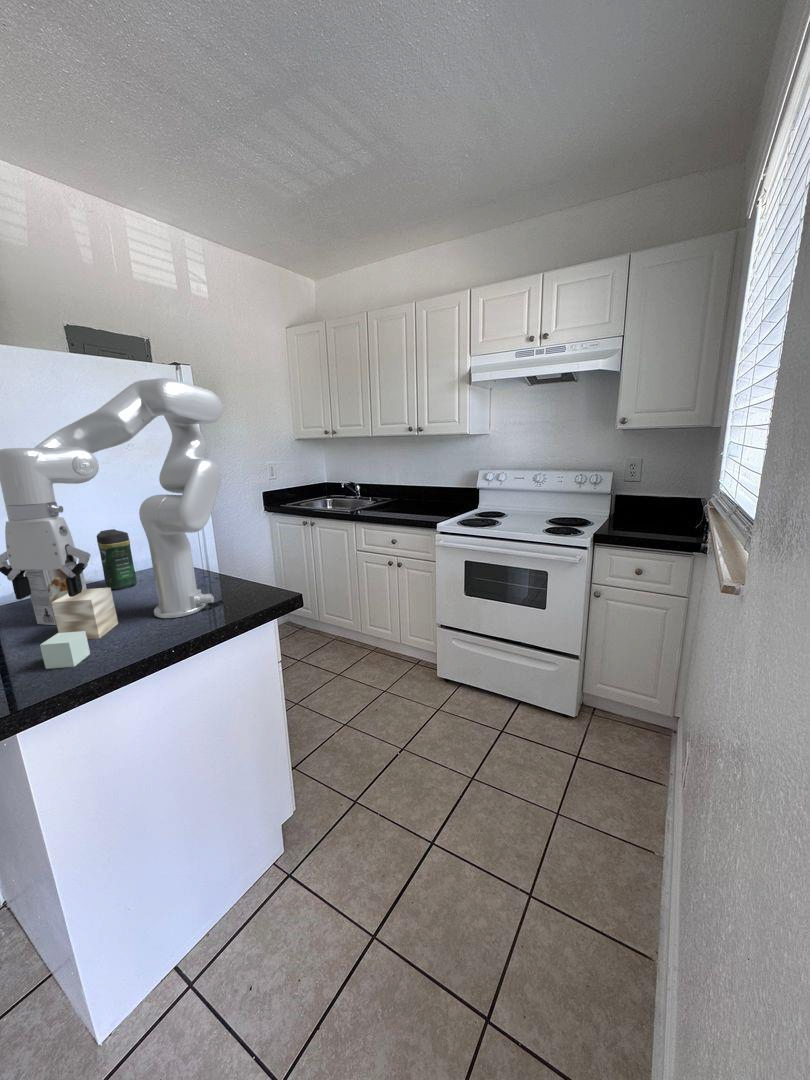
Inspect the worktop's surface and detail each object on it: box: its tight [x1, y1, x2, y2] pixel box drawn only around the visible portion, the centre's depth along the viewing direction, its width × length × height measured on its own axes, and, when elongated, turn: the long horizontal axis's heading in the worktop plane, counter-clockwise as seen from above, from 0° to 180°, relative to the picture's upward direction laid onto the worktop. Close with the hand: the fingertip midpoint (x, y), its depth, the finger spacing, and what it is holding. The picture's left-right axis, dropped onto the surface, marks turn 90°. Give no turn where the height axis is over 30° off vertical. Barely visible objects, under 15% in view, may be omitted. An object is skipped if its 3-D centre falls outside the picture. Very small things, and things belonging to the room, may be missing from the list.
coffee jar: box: [96, 528, 138, 590], centre depth 138 cm, size 10×8×19 cm
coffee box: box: [24, 561, 78, 626], centre depth 113 cm, size 9×6×16 cm
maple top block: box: [51, 587, 115, 623], centre depth 104 cm, size 8×8×5 cm
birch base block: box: [56, 605, 119, 640], centre depth 105 cm, size 8×8×5 cm
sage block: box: [39, 631, 91, 670], centre depth 91 cm, size 6×6×6 cm
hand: (50, 595), depth 87 cm, fingers open, 9 cm apart
